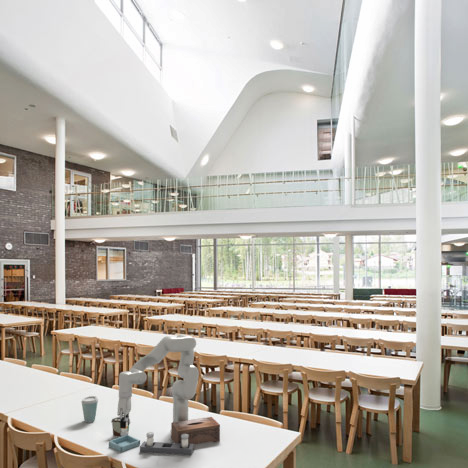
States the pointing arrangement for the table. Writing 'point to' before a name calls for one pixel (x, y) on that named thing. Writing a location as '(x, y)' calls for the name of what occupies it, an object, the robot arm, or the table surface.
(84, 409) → the disposable coffee cup
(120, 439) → the tray
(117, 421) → the food container
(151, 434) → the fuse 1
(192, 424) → the tissue box cover
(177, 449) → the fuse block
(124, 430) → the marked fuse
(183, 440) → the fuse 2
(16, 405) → the table surface
